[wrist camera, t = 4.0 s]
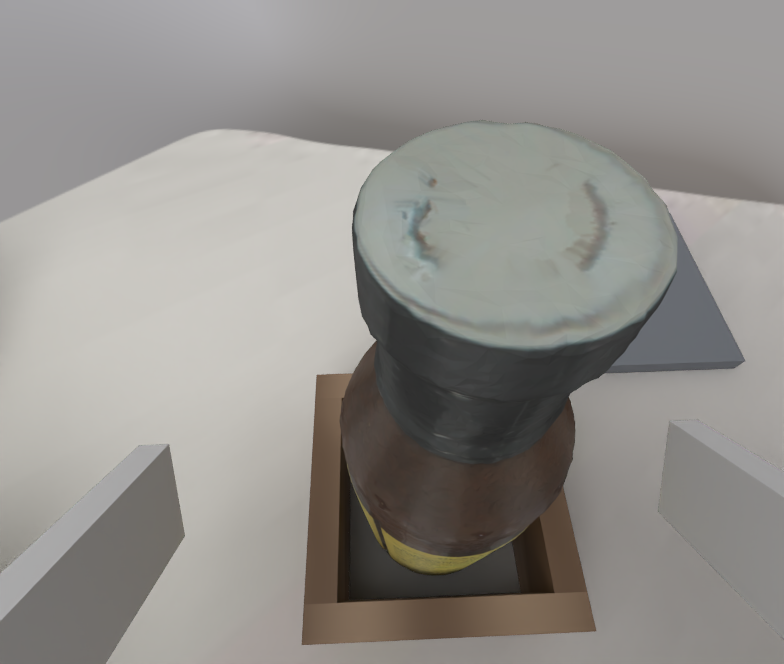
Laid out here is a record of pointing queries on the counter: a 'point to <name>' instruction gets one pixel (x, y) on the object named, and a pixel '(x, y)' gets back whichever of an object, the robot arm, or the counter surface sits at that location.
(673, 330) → the rubber mat
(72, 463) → the counter surface
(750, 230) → the counter surface
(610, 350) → the sauce bottle
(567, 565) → the walnut sleeve
